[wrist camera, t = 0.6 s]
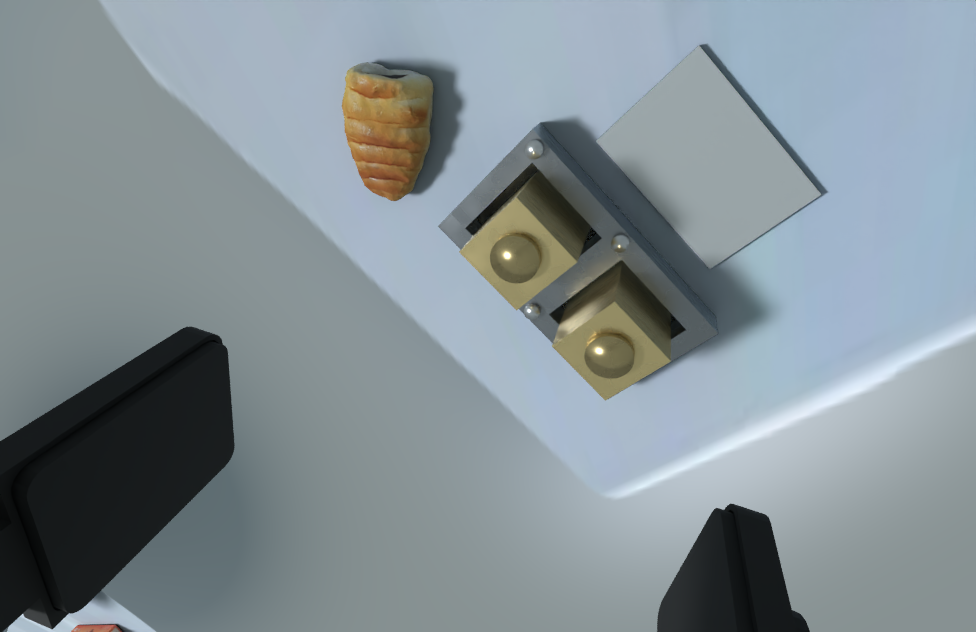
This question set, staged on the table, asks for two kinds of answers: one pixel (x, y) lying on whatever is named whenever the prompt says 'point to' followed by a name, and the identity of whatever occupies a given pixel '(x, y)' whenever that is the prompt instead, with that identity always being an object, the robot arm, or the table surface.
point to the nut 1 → (528, 241)
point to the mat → (707, 161)
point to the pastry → (387, 126)
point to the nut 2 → (615, 332)
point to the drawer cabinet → (597, 253)
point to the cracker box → (96, 628)
